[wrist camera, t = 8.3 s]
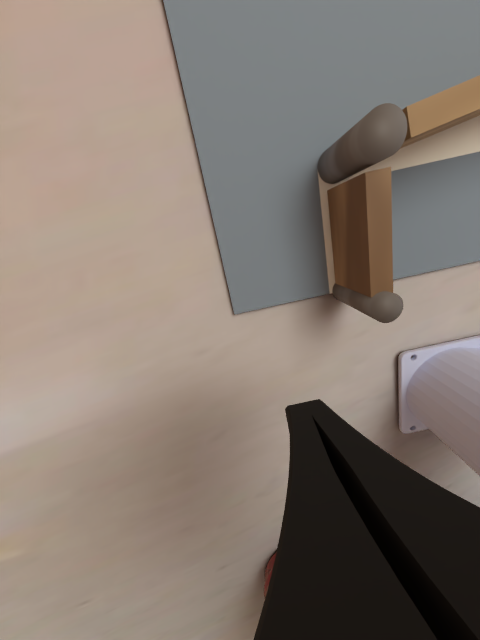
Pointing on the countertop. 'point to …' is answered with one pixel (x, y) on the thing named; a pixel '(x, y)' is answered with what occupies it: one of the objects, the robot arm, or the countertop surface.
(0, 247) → the countertop surface
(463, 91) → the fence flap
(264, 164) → the mat
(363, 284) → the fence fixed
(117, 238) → the countertop surface
